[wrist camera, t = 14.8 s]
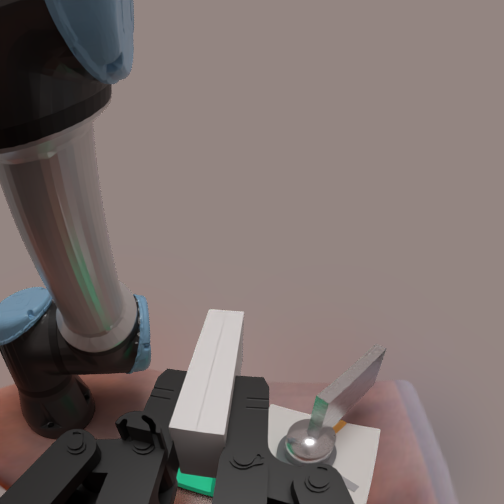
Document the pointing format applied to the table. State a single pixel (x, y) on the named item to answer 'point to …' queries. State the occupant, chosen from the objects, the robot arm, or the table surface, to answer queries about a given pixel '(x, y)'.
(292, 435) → the brushed metal plate
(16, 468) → the table surface
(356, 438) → the post base
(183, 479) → the green mounting bracket
